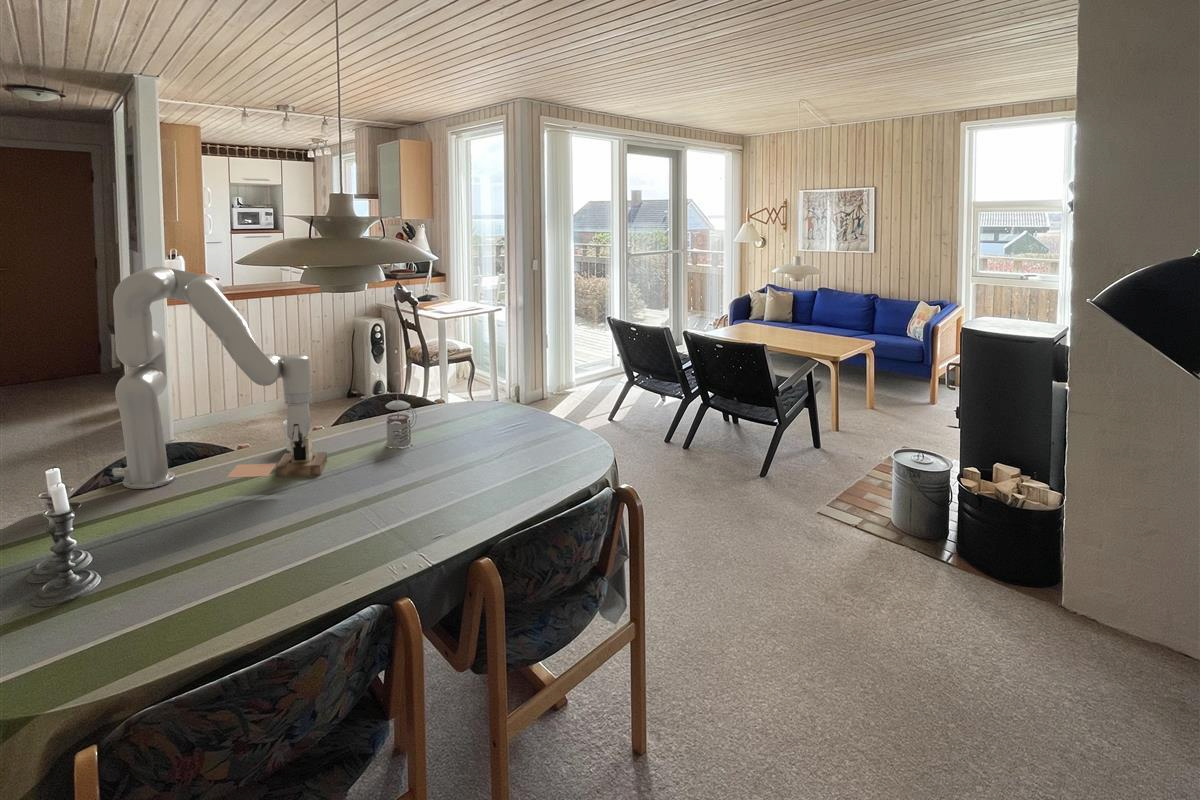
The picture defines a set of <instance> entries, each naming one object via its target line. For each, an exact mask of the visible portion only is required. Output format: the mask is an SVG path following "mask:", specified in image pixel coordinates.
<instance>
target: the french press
mask: <svg viewBox="0 0 1200 800" xmlns="http://www.w3.org/2000/svg"><path fill="white" fill-rule="evenodd" d="M393 376H394V377H400V376H401V374H400V372H398V371H397V372H396V371H395V372H394V373H393ZM396 393H397V395H396V397H397V398H396V399H397V400H392V401H389V402H388V403H386V404H385V406H384V407H385V408H386V409H388V410H392V411H393V410H395V411H399V410H405V411H406V412H408V413H409V412H410V411H411V412H412V420H410V416H409V415H408V414H406V413H405V414H400V413H399V412H397V413H394V414H389V415H387V420H386V439H387V440H386V442H385V443H384V444H385V445H386V446H387V447H392V448H399V447H405V446H408V445H411V444H412V442H413V441H412V439H411V438H412V436H411V435H412V432H411V431H412V428H414V426H415V425H416V423H417V419H418V418H417V412H416V410H415V409H414V408H412V407H411V404H410V403H408V402H406V401H404V400H400V399H399V387H398V381H396ZM407 409H408V410H407ZM414 414H415V420H414ZM413 421H414V424H413ZM395 422H397V423H395ZM412 424H413V425H412ZM411 425H412V426H411Z"/></svg>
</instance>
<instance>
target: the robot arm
mask: <svg viewBox="0 0 1200 800" xmlns="http://www.w3.org/2000/svg"><path fill="white" fill-rule="evenodd" d="M163 299H170V300H176V301H182V302H186V303H187V304H188V306H190V308H191V309H192V310H193V311H194V312H195V313H196V314H197V315H198V317H200V319H201V320H202V321H203V322H204V323H205V325H206V326H208V327H209V329H210V330H211V331H212V333H214V335H215V336H216V337H217V338H218V339H219V341H220V342H221V344H222V347H224V349H225V350H226V351H227V353H228V355H229V356H230V358H231V359H232V360H233V361H234V363H235V364H236V365H237V366H238V368H240V370H241V371H242V372H243V373H244V374H245V375H246V376H247V377H248V379H249V380H250V381H252V382H253V383H254V384H256V385H259V386H262V387H267V386H271V385H273V384H274V383H276V382H277V381H278V379H279V378H281V379H282V388H283V389H282V390H283V404H285V405H287V406H286V407H287V408H286V420H287V436H288V438H291V437H292V435H293V450H294V460H306V450H305V447H304V437H305V436H306V435H307V434H308V432H309V430H311V413H310V405H309V404H311V403H313V394H312V393H313V392H312V379H311V378H312V377H311V376H312V375H311V363H310V362H311V361H310V357H308V356H307V355H305V354H304V355H303V354H289V355H285V354H274V353H265V352H264V351H263V350H262V349H261V348H260V347H259V345H258V344H257V342H256V341H255V339H254V338H253V336H252V334H251V331H250V327H249V325H248V323H247V320H246V319H245V317H244V316H243V315H242V314H241V313H240V311H238V310H237V308H236V307H235V306H234V305H233V304H232V303H231V301H229V300H228V298H227V296H225V295H224V287H223V285H222V284H221V282H220V281H219V280H218V279H216V278H215V277H212V276H209V275H206V274H200V273H197V272H196V273H195V272H192V271H185V270H181V269H176V268H171V267H166V266H165V267H164V266H155V267H149V268H145V269H142V270H139V271H137V272H134V273H132V274H130V275H128V276H126V277H125V278H123V279H122V280H121V281H120V282H119V283H118V284H117V286H116V287H115V290H114V293H113V297H112V302H113V303H112V307H113V319H114V322H113V323H114V337H115V353H116V356H117V358H118V360H119V362H121V363H122V364H123V365H124V366H127V371H128V372H127V373H126V374H124V375H123V376H122V377H121V378H120V379H119V380H118V382H117V384H116V385H115V386H116V387H115V391H114V394H115V401H116V404H117V408H118V411H119V416H120V422H121V428H122V429H121V430H122V434H123V441H124V450H125V451H124V452H125V459H126V465H127V466H125V467H124V468H122V467H114V468H112V472H111V473H112V475H113V477H114V478H120V477H123V478H124V479H122V486H124V487H125V488H127V489H132V490H141V489H142V490H145V489H151V488H152V489H153V488H159V487H162V486H165V485H168V484H170V483H172V482H174V481H175V479H176V473H175V472H174V471H170V470H169V466H168V457H167V456H168V455H167V450H166V447H167V446H166V440H165V431H164V423H163V416H162V410H161V407H160V405H159V403H160V402H159V396H160V395H161V394H163V392H164V391H165V389H166V387H167V383H168V380H167V378H168V375H167V373H168V372H167V361H166V359H167V358H166V347H165V342H164V340H163V338H162V336H161V335H160V334H159V333H158V332H157V331H156V330H155V329H153V318H152V312H151V305H152V303H154V302H157V301H161V300H163ZM299 435H302V437H299ZM299 439H301V440H299ZM158 486H159V487H158Z"/></svg>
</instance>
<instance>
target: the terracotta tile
mask: <svg viewBox="0 0 1200 800" xmlns="http://www.w3.org/2000/svg"><path fill="white" fill-rule="evenodd" d="M276 466H277V462H276V463H252V464H251V463H250V464H248V463H247V464H237V465H236V466H235V467H233V469H232V470H231V471H230V473H229V474H227V476H226V478H227V479H229V478H251V477H252V478H254V477H255V478H258V477H269V475H270V474H271V473H272V471H273V470H274V468H276Z"/></svg>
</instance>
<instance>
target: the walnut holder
mask: <svg viewBox="0 0 1200 800" xmlns="http://www.w3.org/2000/svg"><path fill="white" fill-rule="evenodd" d="M327 453H328V452H327V451H325V452H324V451H322V452H321V451H319V452H317V451H316V452H312V455H313V461H312V462H305V463H292V462H291V452H288V453H287V452H285V453H284V454H283V455H282V457H281V459H280V460H279V461H278V463H276V465H275V469H276V471H275V472H276V477H298V476H299V477H301V476H303V477H304V476H306V477H307V476H321V475H322V473H323V471H324V469H325V467H326V465H327V463H328V455H327Z"/></svg>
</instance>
